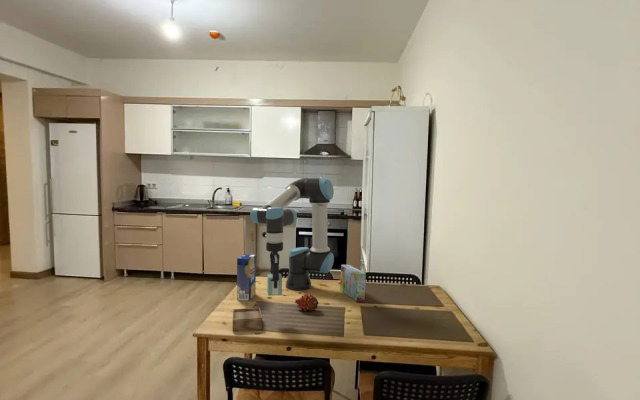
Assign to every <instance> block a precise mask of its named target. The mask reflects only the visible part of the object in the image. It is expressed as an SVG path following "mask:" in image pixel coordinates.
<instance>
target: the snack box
mask: <svg viewBox="0 0 640 400" xmlns="http://www.w3.org/2000/svg"><path fill="white" fill-rule="evenodd" d="M366 277H367V274H366V272H364V271H362V270H360V269H358V268H356V267H354V266H352V265H351V264H341V265H340V285H339V286H340V287H339V288H340V289H339V290H340V291H341V292H343V293H344V294H345V295H347V296H348V297H350V298H351V299H353V300H354V301H355V302H364V301H366V299H365V297H366V280H367V279H366Z"/></svg>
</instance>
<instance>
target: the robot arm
mask: <svg viewBox="0 0 640 400" xmlns="http://www.w3.org/2000/svg"><path fill="white" fill-rule="evenodd" d="M333 198H334V185H333V183H332V181H331V180H330V179H328V178H324V177H323V178H322V177H317V178H315V177H314V178H312V177H309V178H308V177H305V178H300V179H296V180H294V181H293V182H291V183H289V184H287V186H286V187H285V189H284V190H283V191H282V192H280V193H278V195H276V196H275V197H273V199H271V200H270V201H269V202H267V203H265V204H264V205H263V206H262V207H253V208H252V209H251V210H250V215H249V217H250V221H251V222H252V223H254V224H259V225H261V224H262V225H265V227H266V234H265V235H264V237H265V238H266V243H265V246H266V247H265V249H266V251H267V252H270V254H269V258H270V260H269V263H270V274H273V279H272V280H271V281H272V295H273V296H279V295H278V281H279V274H280V257H281V256H280V254H279V252H282V251H283V250H284V242H283V241H284V227H286V226H291V225H293V224H295V223H296V221H297V219H298V214H297V212H296V211H295V210H294V209H292V208H287V207H288V206H290V204H291V203H293V202H295V201H298V200H299V199H300V200H301V199H309V200H308V201H309V204H310V205H311V217H312V218H311V225H312V227H311V228H312V229H311V231H312V234H311V235H312V237H311V238H312V239H311V240H312V241H311V242H312V246H311V248H309V247H307V246H304V247H303V246H301V247H300V246H299V247H294V248H291V249H290V250H289V252H288V253H289V254H288V275H287V279H286V282H285V287H286V288H287V289H289V290H292V291H306V290H308V289H310V288H311V287H312V281H311V277H310V273H309V272H316V273H320V274H323V273H325V274H328V273H330V271H331V270H332V268H333V265H334V261H335V256H334V253H332V252H331V248H330V247H329V246H328V205H329V204H330V203H331V201H332V199H333Z"/></svg>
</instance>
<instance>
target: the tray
mask: <svg viewBox="0 0 640 400" xmlns="http://www.w3.org/2000/svg"><path fill="white" fill-rule="evenodd" d="M262 317H263V316H262V311H261V307H248V308H247V307H244V308H233V310H232V332H239V331H252V330H262V329H263V328H262V324H263V323H262V322H263V321H262V319H263V318H262Z"/></svg>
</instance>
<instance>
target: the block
mask: <svg viewBox="0 0 640 400" xmlns="http://www.w3.org/2000/svg"><path fill="white" fill-rule="evenodd" d="M272 279H273V274H271V273H267V279H266V280H267V284H266V286H267V290H266V291H267V294H268V296H269V297H270V296H271V297H273V296H274V295H272V281H271V280H272ZM282 295H283V276H282V274H281V273H279V281H278V295H277V296H282Z"/></svg>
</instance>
